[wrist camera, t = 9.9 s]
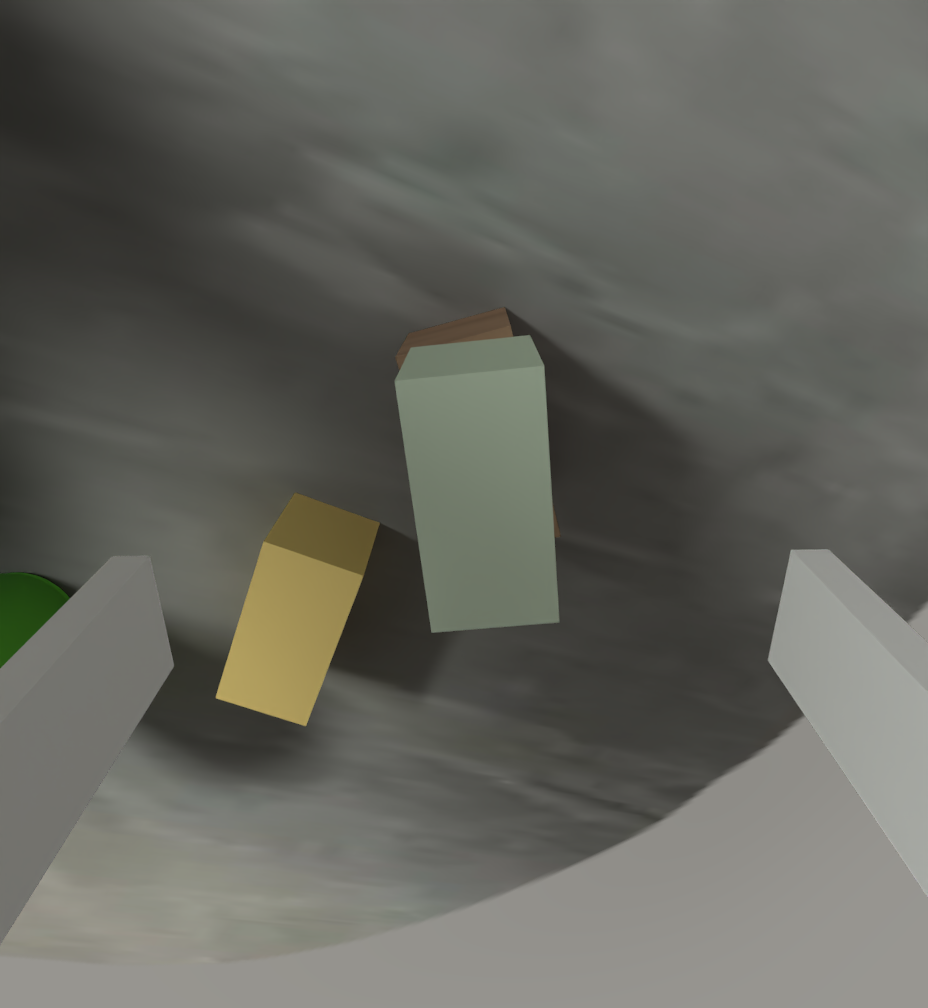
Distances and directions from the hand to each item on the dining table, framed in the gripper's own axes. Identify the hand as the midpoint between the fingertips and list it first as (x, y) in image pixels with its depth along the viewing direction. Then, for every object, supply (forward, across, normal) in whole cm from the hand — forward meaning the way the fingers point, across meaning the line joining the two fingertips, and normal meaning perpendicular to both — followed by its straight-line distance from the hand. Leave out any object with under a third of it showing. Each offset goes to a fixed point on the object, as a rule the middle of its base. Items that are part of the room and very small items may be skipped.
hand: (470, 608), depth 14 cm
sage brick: (+11, 0, 0) cm, 11 cm away
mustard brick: (+16, -7, -8) cm, 19 cm away
